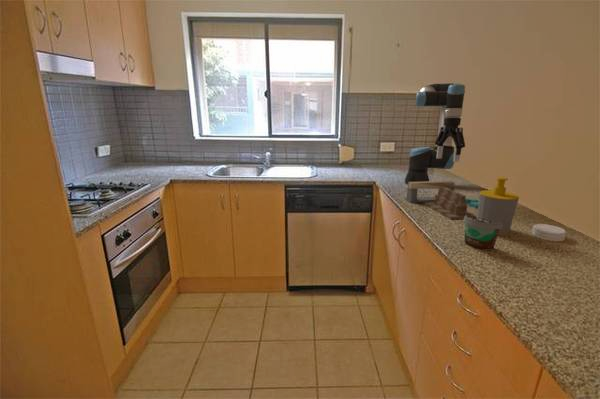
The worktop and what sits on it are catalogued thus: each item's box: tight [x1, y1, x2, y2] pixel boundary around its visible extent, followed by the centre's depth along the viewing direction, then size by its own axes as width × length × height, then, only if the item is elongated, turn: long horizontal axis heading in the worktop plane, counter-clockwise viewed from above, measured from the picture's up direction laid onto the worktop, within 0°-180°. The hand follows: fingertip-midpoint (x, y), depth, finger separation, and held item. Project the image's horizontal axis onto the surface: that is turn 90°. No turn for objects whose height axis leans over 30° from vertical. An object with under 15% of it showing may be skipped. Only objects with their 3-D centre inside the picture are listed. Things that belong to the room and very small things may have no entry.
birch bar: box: [407, 180, 456, 190], centre depth 162 cm, size 3×24×3 cm, turn 97°
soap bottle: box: [476, 176, 520, 236], centre depth 122 cm, size 13×13×21 cm
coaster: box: [531, 223, 567, 242], centre depth 118 cm, size 10×10×4 cm
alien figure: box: [465, 197, 479, 209], centre depth 157 cm, size 20×2×20 cm
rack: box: [404, 187, 455, 204], centre depth 163 cm, size 6×24×7 cm, turn 97°
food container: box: [462, 214, 503, 251], centre depth 108 cm, size 12×6×10 cm, turn 45°
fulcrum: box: [424, 186, 477, 220], centre depth 146 cm, size 22×12×10 cm, turn 7°
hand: (447, 160), depth 160 cm, fingers open, 13 cm apart
